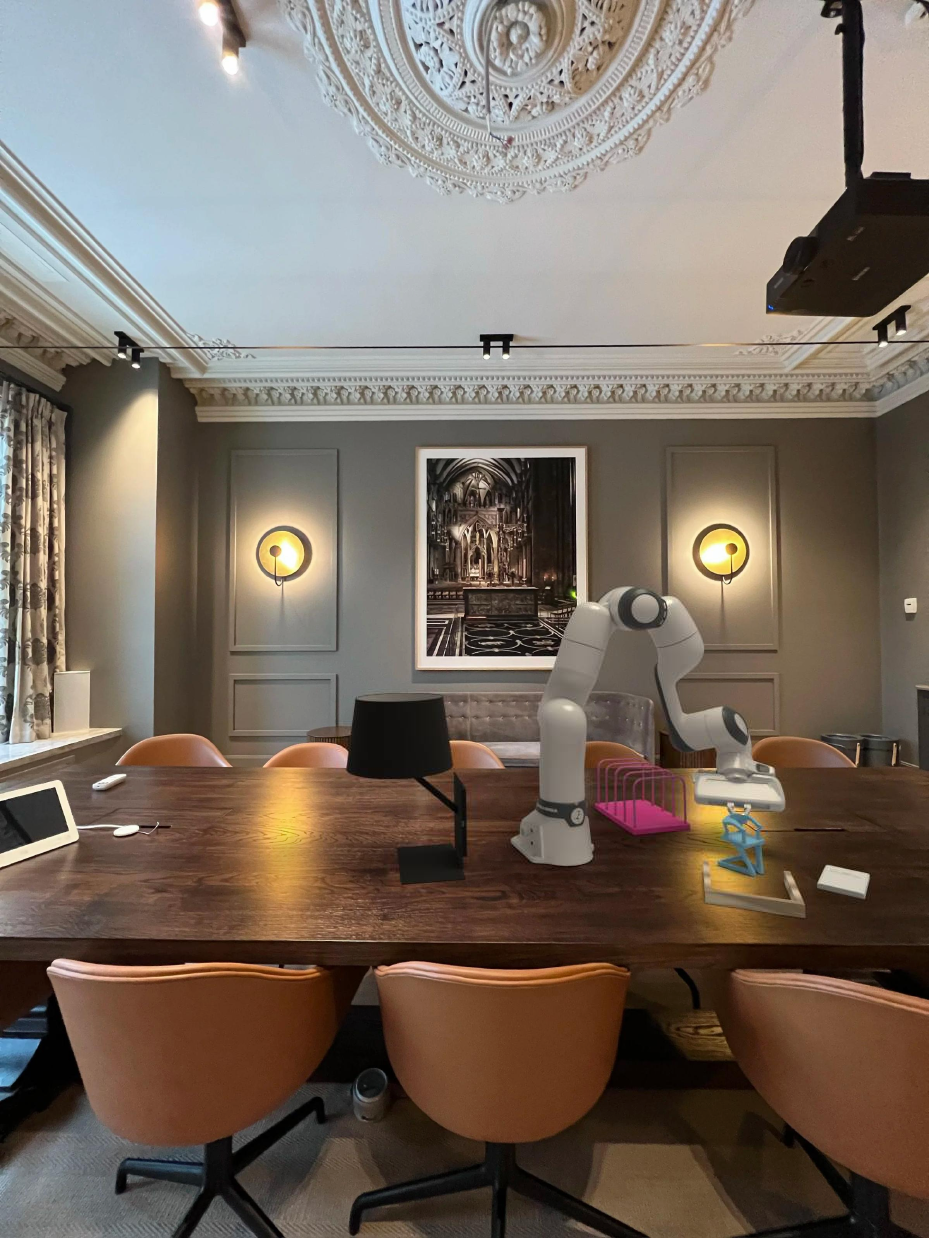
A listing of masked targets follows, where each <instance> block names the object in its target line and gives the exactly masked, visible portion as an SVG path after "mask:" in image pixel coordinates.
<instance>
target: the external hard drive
mask: <svg viewBox="0 0 929 1238" xmlns="http://www.w3.org/2000/svg"><path fill="white" fill-rule="evenodd" d="M870 878H871V877H870V873H866V872H862V871H858V870H854V869H853V870H851V869H848V868H844V867H839V866H834V865H831V864H830V865H829V864H826V865H825V867H824V869H823V870H822V873H821V875H820V877H819V879H818V881H817V883H816V884H817V886H816V887H817V889H820V890H825V891H829V892H832V893H837V894H840V895H841V894H842V895H844V896H845V895H846V896H848V897H849V896H850V897H854V898H858V899H863V900H865V899H866V895H867V891H868V887H869V883H870Z"/></svg>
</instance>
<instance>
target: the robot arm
mask: <svg viewBox="0 0 929 1238" xmlns="http://www.w3.org/2000/svg"><path fill="white" fill-rule="evenodd" d="M618 629H619V630H623V631H627V632H628V631H631V632H632V631H637V632H638V631H639V632H641V631H647V632H648V634H649V635H650V637H651V639H652V641H653V643H654V646H655V648H656V652H657V655H658V656H657V658H658V660H657V662H656V663H655V665H654V668H653V674H654V675H653V676H654V681H655V686H656V690H657V693H658V697H659V700H660V704H661V707H662V711H663V714H664V715H663V716H664V718H665V719H664V720H665V722H666V728H667V733H668V738H669V741H670V744H671V746H672V747H673V748H674V749H676V750H677V751H679V752H681V753H683V754H685V755H689V754H692V753H696V752H699V751H703V750H708V749H715V751H716V758H715V764H716V765H715V766H716V767H715V768H716V769H701V768H700V769H697V770H695V771H693V772H692V774H691V781H692V783H693V784H694V786H693V800H694V802H695V803H696V804H697V805H701V806H703V805H704V806H711V807H712V806H713V807H725V808H727V809H726V811H727V812H728V813H729V814H732V813H736V811H735V810H734V809H735V808H736V809H743V811H744V812H743V813H742V814H743V815H747V816H750V814H751V811H752V810H757V811H758V810H759V811H768V812H779V813H781V812H783V811H784V810H785V808H786V798H785V797H786V796H785V793H784V792H785V791H784V790H783V786H782V784H781V782H780V780H779V779H778V778H777V777H776V770H775V767H773V766H770V765H767V764H765V763H764V764H763V763H761V762H758V761H755V760H754V759H753V756H752V750H753V749H752V748H753V747H752V740H751V734H750V732H749V731H750V730H749V727H748V725H747V723H746V721H745V719H744V717H743V716H742V715H741V713H739V712H738V711H736V710H734V709H733V708H731V707H729V706H726V705H724V706H718V707H712V708H708V709H706V710H702V711H698V712H697V711H695V712H692V713H685V712H684V711H682V707H681V702H680V699H679V695H678V691H677V687H676V684H677V682H678V681H679V680H680V679H682V678H683V677H684V676H685V675H688V673H689V672H691V671H692V670H693V669H694V668H696V666H697V665H699V663H700V662H701V660H702V658H703V657H704V652H705V644H704V642H703V638H702V636H701V634H700V632H699V629H698V627H697V625H696V623H695V621H694V620H693V618H692V616H691V615H690V612H689V611H688V609H686V607H685V606H684V604H683V603H682V602H681V601H680V599H678V598H677V597H675V596H673V595H672V596H671V595H667V596H666V595H665V596H659V595H658V594H657V593H656V592H655V591H653V590H651V589H650V588H647V587H644V586H620V587H615V588H612V589H609V590H608V591H606V592H604V593H603V594H602V595H601V596H600V598H598V600H596V601H585V602H581V603H579V604H578V605H577V606H576V607H575V609H574V610H573V613H572V615H570V617H569V620H568V622H567V625H566V627H565V629H564V632H563V636H562V639H561V642H560V645H559V648H558V652H557V655H556V659H555V660H554V664H553V667H552V670H551V672H550V674H549V675H550V676H549V678H548V680H547V684H546V686H545V689H544V691H543V694H542V696H541V697H542V698H541V699H540V703H539V706H538V709H537V712H536V719H537V723H538V725H539V731H540V732H539V733H540V734H539V735H540V736H539V746H540V747H539V762H538V763H539V764H538V766H539V772H538V773H539V795H536V796H535V795H534V796H533V798H535V799H533V801H534V802H536V804H535V807H534V808H535V809H534V810H533V811H531V812H530V813H529V814H528V815H527V816H525V817H524V818H522V819H521V822H520V824H519V825H520V826H519V827H520V828H519V834H517V835H515V836H513V837H512V838H511V839H510V843H511V845H513V846H514V847H515V848H516V849H517V850H518V851H519V852H520V853H521V854H522V855H523V856H524V857H525V858H527V860H529V861H530V862H531V863H534V864H548V865H554V866H564V867H568V866H569V867H570V866H580V865H583V864H587V863H589V862H590V861H591V860H593V858H594V854H593V851H594V850H595V846H594V843H592V840H591V832H590V831H591V830H590V822H589V817H588V816H587V814H588V802H587V798H586V796H585V795H586V794H585V792H586V791H585V789H586V788H585V759H586V747H587V730H588V729H587V725H588V723H587V716H586V713H585V712H584V709H585V706H586V704H587V701H588V699H589V696H590V695H591V693H592V690H593V689H594V686H595V684H596V682H597V679H598V676H599V674H600V669H601V666H602V664H603V660H604V657H605V654H606V650H607V648H608V643H609V640H610V638H611V636H612V634H613V633H614V632H615V631H616V630H618ZM737 822H738V823H739V821H737ZM742 825H748V821H742Z"/></svg>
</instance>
